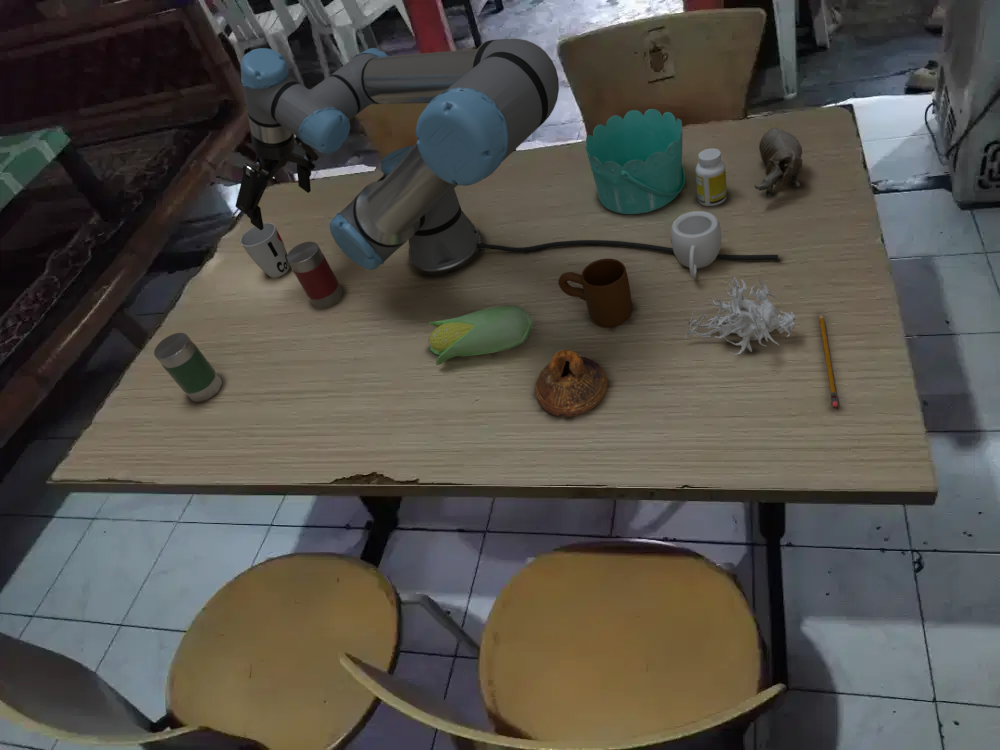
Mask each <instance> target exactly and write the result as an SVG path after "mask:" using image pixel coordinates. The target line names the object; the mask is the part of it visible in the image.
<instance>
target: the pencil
mask: <svg viewBox="0 0 1000 750" xmlns="http://www.w3.org/2000/svg"><path fill="white" fill-rule="evenodd" d="M818 319H819V328H820V334H821V340H822V346H823V351H824V358H825V359H824V360H825V366H826V372H827V378H828V384H829V390H830V399H831V404H832V407H833V408H837V407H838V405H839V404H838V396H837V392H836V387H835V386H836V385H835V380H834V374H833V368H832V362H831V354H830V350H829V349H830V348H829V343H828V336H827V331H826V325H825V319H824V317H823V315H822V313H821V312H819V318H818Z"/></svg>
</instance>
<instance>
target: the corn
mask: <svg viewBox="0 0 1000 750" xmlns="http://www.w3.org/2000/svg"><path fill="white" fill-rule="evenodd" d="M428 324H429V325H431V326H433V327H436V328H435V329H434V330H433V331H432V332H431V333H430V335H429V338H428V341H429V343H430V347H429V350H430V352H432V353H433V354H434V355H437V356H438V357H437V360H436V363H435V364H436V366H438V365H441V364H443V363H445V362H447V361H448V360H450V359H453V358H455V357H457V356H458V357H469V356H479V355H480V356H481V355H489V354H493V353H499V352H504V351H507V350H510V349H514V348H516V347H518V346H521V345H522V344H524V343H526V342H527V340H528V339H529V337H530V335H531V331H532V328H533V325H534V319H533V317H532V315H530V314H529V313H528V311H527V310H526V309H525V308H524V307H521V306H519V305H513V304H508V305H500V306H493V307H487V308H484V309H479V310H476V311H473V312H470V313H467V314H464V315H460V316H457V317H453V318H447V319H442V320H441V319H440V320H438V321H429V322H428Z"/></svg>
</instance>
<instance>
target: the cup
mask: <svg viewBox="0 0 1000 750" xmlns="http://www.w3.org/2000/svg"><path fill="white" fill-rule="evenodd" d="M263 227H264V229H262V230H260V229H258V228H257V227H256V226H254V225H253V226H252V227H250V228H248V229H247V230H246V231H245V232H244V233H243V234H242V235H241V237H240V238H239V243H240V245H241V246H242V248H243V249H244V250H245V252H246V253H247V254H248V256H249V257H250V258H251V260H252V261H253V262H254V263H255V264H256V265H257V266H258V268H260V270H261V271H262V272H264V273H265V274H266V275H267V276H268V277H270V278H279V277H281V276H283V275H285V274H286V273H287V272H288V271H289V270H290V268H291V265H290V264H289V262H288V260H287V255H288V253H287V249H286V247H285V244H284V242H283V239H282V237H281V235H280V233H279V231H278V229H277V226H276V225H275V224H274V223H272V222H263Z"/></svg>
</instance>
